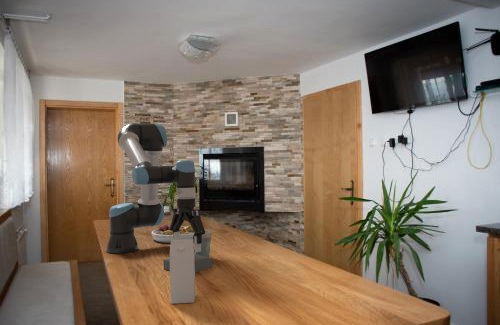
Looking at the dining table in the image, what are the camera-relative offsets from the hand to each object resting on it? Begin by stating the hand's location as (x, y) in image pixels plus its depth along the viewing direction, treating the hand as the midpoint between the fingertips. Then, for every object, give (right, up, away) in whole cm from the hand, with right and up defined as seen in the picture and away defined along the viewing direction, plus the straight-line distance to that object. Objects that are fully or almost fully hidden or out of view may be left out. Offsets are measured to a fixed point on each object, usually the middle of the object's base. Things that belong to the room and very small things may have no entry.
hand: (187, 249), depth 159 cm
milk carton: (+5, -8, -37) cm, 38 cm away
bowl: (-15, -9, +64) cm, 67 cm away
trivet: (0, -8, 0) cm, 8 cm away
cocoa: (0, -4, 0) cm, 4 cm away
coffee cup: (+4, -8, +15) cm, 18 cm away
